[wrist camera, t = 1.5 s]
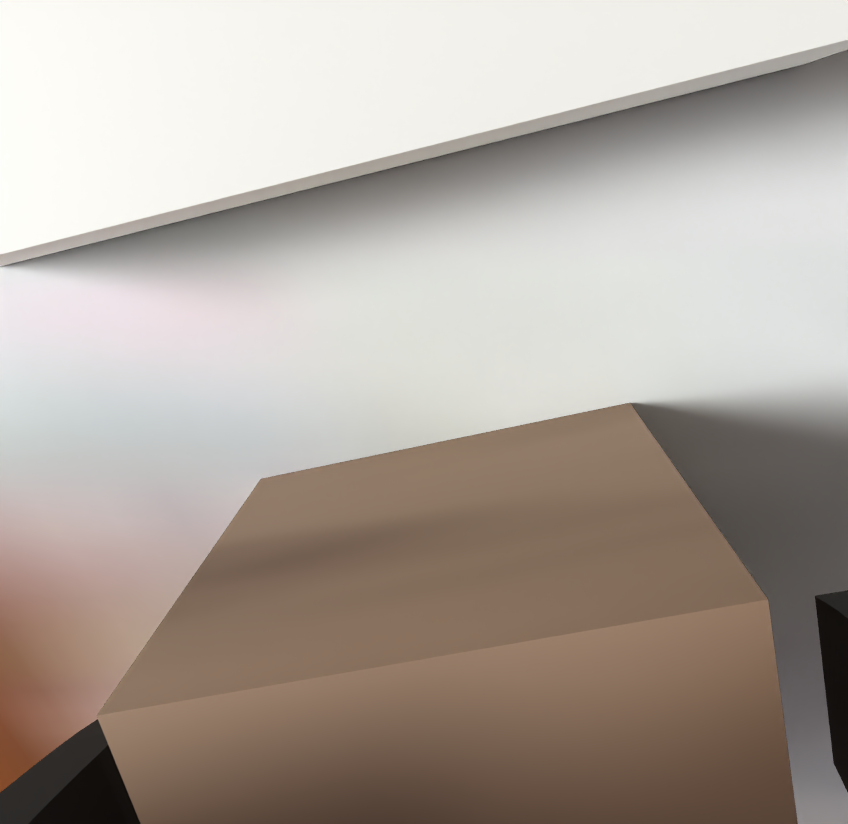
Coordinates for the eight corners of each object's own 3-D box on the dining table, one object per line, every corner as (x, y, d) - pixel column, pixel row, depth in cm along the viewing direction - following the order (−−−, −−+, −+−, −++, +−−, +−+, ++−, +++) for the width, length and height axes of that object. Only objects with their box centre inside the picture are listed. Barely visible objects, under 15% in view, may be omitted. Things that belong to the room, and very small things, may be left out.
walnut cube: (684, 722, 12) (835, 1109, 7) (354, 774, 12) (279, 1164, 7) (629, 401, 10) (767, 598, 5) (262, 476, 11) (97, 716, 6)
